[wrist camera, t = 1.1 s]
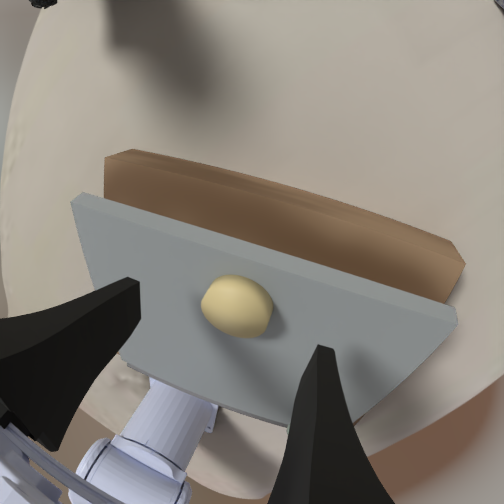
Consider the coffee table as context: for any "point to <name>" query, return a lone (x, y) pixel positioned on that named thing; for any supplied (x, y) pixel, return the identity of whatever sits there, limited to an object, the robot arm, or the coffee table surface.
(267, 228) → the walnut base
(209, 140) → the coffee table surface
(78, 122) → the coffee table surface
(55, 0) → the scope
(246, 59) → the coffee table surface
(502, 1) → the medicine box
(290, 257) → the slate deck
